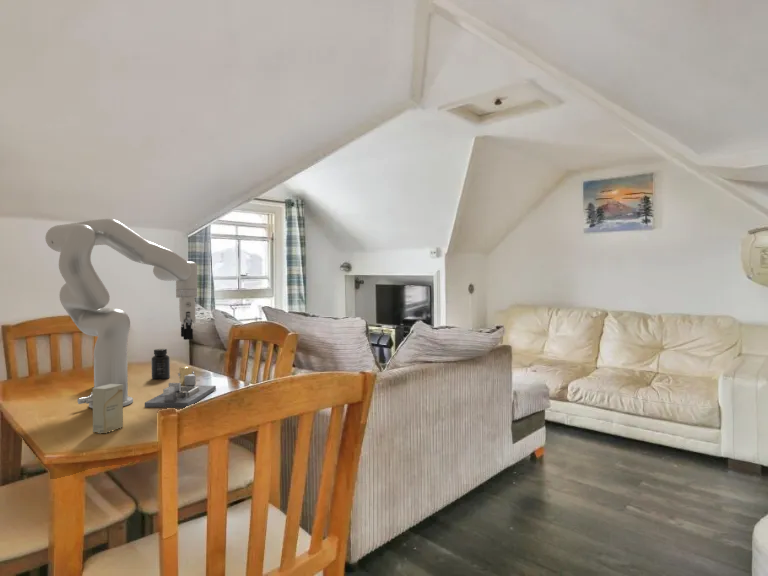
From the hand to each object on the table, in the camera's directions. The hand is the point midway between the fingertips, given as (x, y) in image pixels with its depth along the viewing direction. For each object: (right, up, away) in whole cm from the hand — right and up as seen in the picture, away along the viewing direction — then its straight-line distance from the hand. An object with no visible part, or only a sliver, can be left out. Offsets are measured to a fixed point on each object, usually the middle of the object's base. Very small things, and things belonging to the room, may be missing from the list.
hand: (186, 337), depth 182 cm
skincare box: (+1, -20, -53) cm, 57 cm away
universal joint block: (0, -18, 0) cm, 18 cm away
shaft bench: (+6, -19, -19) cm, 27 cm away
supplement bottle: (-16, -18, +13) cm, 27 cm away
